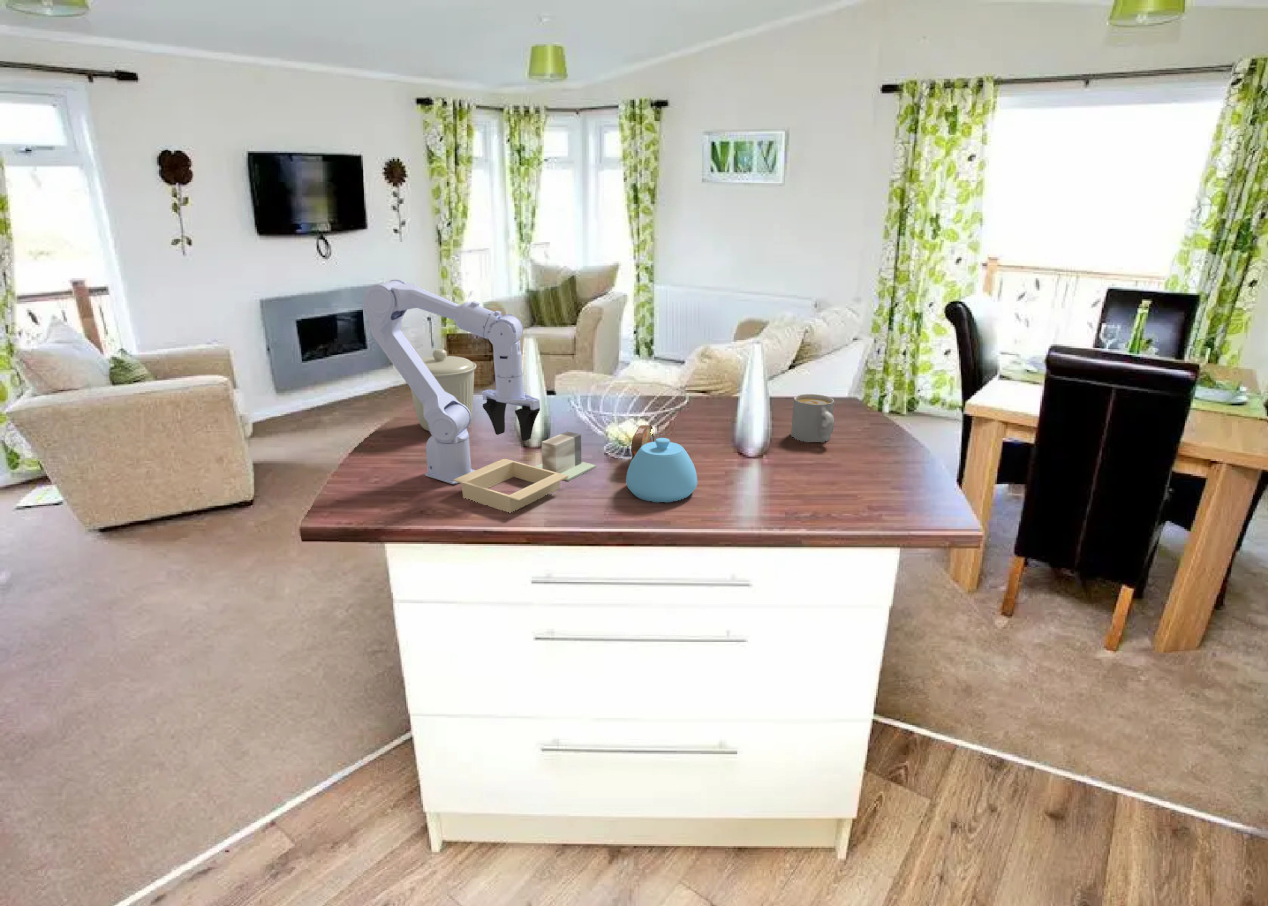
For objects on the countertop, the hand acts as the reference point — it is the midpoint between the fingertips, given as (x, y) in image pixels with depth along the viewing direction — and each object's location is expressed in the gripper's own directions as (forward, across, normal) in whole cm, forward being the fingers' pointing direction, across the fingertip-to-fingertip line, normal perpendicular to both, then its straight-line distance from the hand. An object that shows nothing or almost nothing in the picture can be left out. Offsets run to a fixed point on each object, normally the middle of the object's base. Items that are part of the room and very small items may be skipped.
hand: (513, 436), depth 157 cm
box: (+10, -5, -10) cm, 15 cm away
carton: (+10, -5, +6) cm, 13 cm away
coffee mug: (+11, -44, -64) cm, 78 cm away
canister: (+10, +40, -17) cm, 45 cm away
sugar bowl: (+11, -30, -13) cm, 34 cm away
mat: (+10, -5, -11) cm, 15 cm away
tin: (+11, -18, -24) cm, 31 cm away
